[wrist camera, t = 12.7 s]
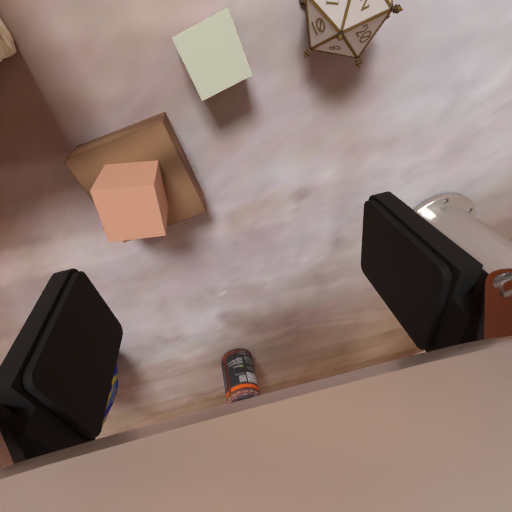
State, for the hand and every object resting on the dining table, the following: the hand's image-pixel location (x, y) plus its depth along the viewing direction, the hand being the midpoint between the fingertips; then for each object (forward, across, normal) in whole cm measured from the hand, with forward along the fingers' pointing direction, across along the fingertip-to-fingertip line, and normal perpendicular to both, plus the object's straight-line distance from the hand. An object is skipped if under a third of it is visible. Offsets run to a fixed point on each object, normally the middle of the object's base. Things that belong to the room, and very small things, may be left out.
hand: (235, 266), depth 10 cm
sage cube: (+28, -2, -4) cm, 28 cm away
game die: (+28, -14, -6) cm, 32 cm away
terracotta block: (+23, +8, +5) cm, 25 cm away
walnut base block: (+28, +8, +5) cm, 29 cm away
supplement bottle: (+28, +6, +44) cm, 53 cm away
